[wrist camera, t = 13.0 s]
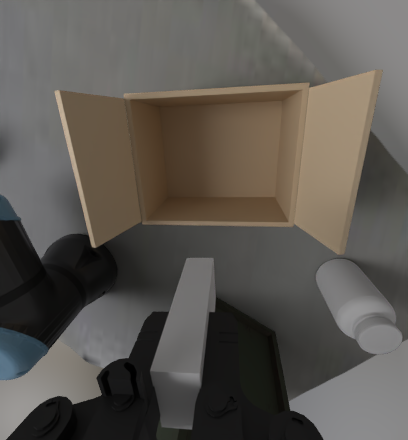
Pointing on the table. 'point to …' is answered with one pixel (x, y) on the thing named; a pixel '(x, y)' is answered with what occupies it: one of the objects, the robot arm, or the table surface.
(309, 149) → the flap
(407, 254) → the table surface
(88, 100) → the flap
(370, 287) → the pill bottle
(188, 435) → the first aid box
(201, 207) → the carton
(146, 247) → the table surface
